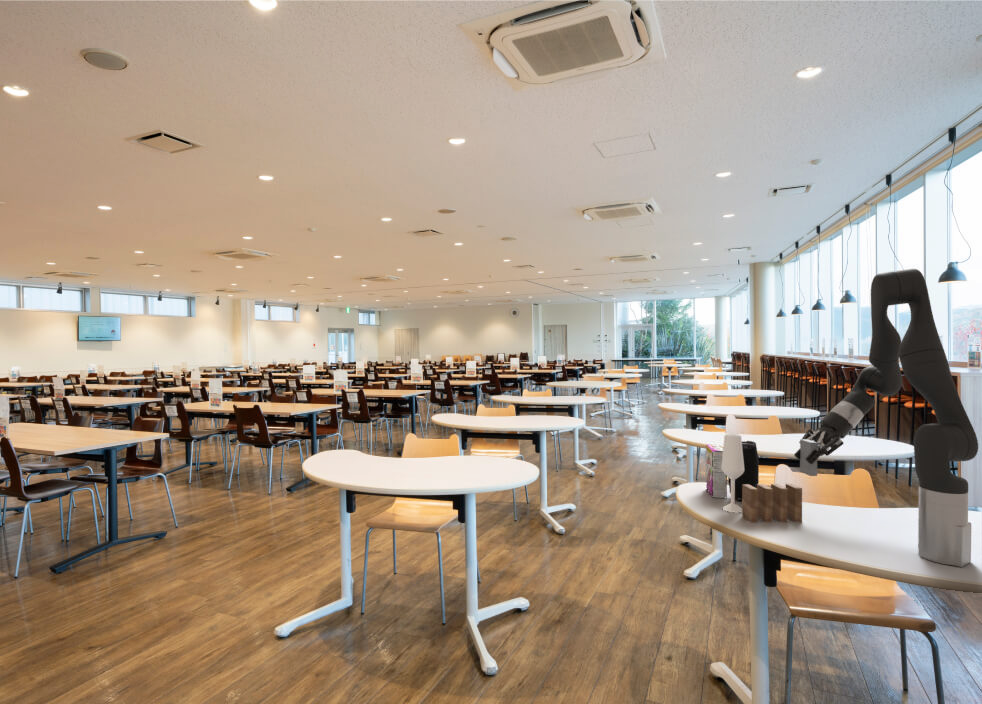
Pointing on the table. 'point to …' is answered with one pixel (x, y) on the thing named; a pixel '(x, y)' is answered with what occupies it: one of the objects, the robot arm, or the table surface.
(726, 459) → the champagne flute
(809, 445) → the grey domino
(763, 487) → the walnut domino
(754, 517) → the walnut domino
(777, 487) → the walnut domino
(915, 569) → the table surface
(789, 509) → the walnut domino
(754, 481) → the portable speaker
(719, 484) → the candy bar box
